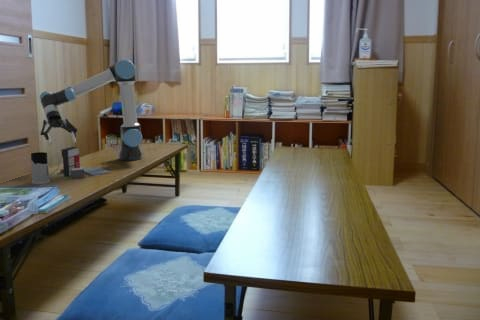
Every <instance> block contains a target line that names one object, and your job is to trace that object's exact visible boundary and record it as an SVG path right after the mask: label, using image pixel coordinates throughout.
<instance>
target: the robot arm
mask: <svg viewBox="0 0 480 320" xmlns="http://www.w3.org/2000/svg"><path fill="white" fill-rule="evenodd" d="M136 80H137V79H136V65H134V63H133V62H132V61H131V60H129V59H127V58H126V59H124V58H123V59H120V60H118V61H116V63H114V64H112V65H111V66H109V67H107V69H106V70H104V71H102V72H100V73H98V74H95V75H93V76H91V77H89V78H86V79H84V80H82V81H80V82H77V83H75V84H73V85H71V86H69V87H67V88H64V89H61V90H60V91H56V92H54V93H52V91H43V92H41V93H40V94H39V100H40V103H41V106H42V108H43V112H44V114H45V117H46V119H47V120H46V119H43V121H42V129H41V131H40V134H39V135H40V136H43V137H44V138H45V140H46V141H48V144H49V146H52V143H53V142H52V138H51V135H50V131H51V130H52V129H53V128H54V129H56V128H58V129H59V128H61V129H63V130H65V131H66V132H68V133H70V136H71V139H72V142H73V144H76V143H77V135H76V134H77V132H78V128H76V127H75V125H73V124H72V123H71V122H70V121H69V119H67V118H65V119H64V120H63V119H62V116H61V112H60V111H59V109H58V106H61V105H64V104H66V103H70V102H73V101H74V100H77V98H78V97H81V96H83V95H84V94H87V93H90V92H91V91H94V90H95V89H98V88H100V87H102V86H105V85H107V84H109V83H112V82H116V83H117V84H118V85H119V93H120V101H121V103H120V104H121V110H122V111H121V113H122V120H123V121H122V122H123V123H122V124H121V125H120V128H119V129H120V130H119V131H120V145H121V146H120V150H119V154H118V160H121V161H139V160H142V159H143V154H142V152H141V149H140V144H141V143H142V141H143V133H142V132H141V131H142V130H141V129H142V128H141V124H140V123H139V122H138V115H137V105H136V96H135V87H134V86H135V85H134V84H135V83H136ZM47 125H49V126H48V127H47V129H46V126H47ZM45 129H46V130H45Z"/></svg>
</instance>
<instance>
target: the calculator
mask: <svg viewBox="0 0 480 320" xmlns="http://www.w3.org/2000/svg"><path fill="white" fill-rule="evenodd" d="M61 158H62V166H63V167H62V169H64V173H63V177H64V178H65V177H66V178H69V177H70V178H71V169H72V168H80V167H81V164H80V149H79V147H78V146H70V147H67V148H62V149H61Z"/></svg>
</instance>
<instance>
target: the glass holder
mask: <svg viewBox="0 0 480 320" xmlns="http://www.w3.org/2000/svg"><path fill="white" fill-rule="evenodd" d="M53 157H58V158H59V161H61V157H60V156H59V155H57V154H54V155H52V156H51V158H50V162H48V152H43V151H42V152H39V151H38V152H32V153H31V154H30V165H31V166H30V167H31V179H32V181H31V184H32V183H33V184H32V185H44V184H45V183H46V184H49V183H51V181H50V178H51V176H52V175H53V174H54V173H55V172H56V171H58V170H59V168H60V165H61V162H59V163H58V166H57V168H56V169H55V170H54V171H53V172H51V174H50V173H49V165H50V164H52V160H53Z"/></svg>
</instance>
